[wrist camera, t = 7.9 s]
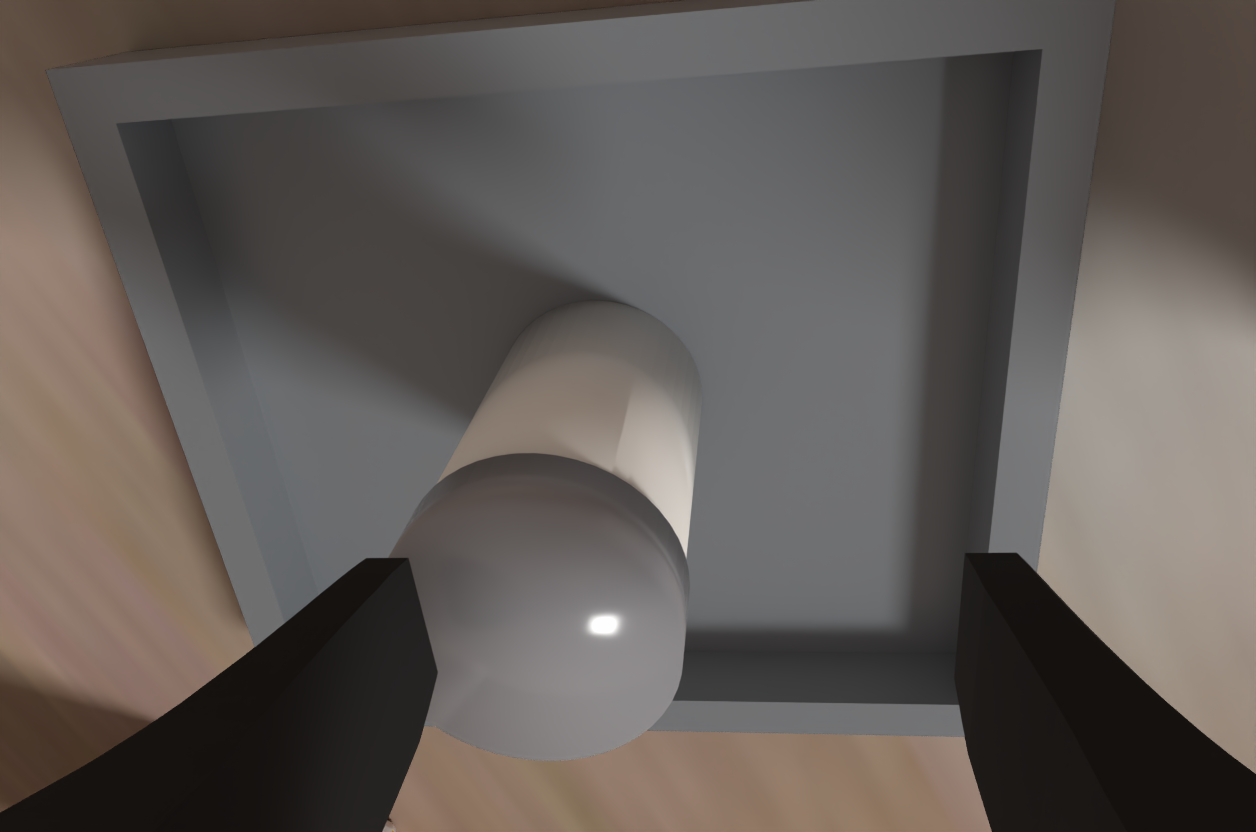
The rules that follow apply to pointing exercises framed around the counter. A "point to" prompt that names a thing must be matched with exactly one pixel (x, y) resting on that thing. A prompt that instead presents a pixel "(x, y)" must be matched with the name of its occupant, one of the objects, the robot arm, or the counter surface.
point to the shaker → (564, 540)
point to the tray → (631, 295)
